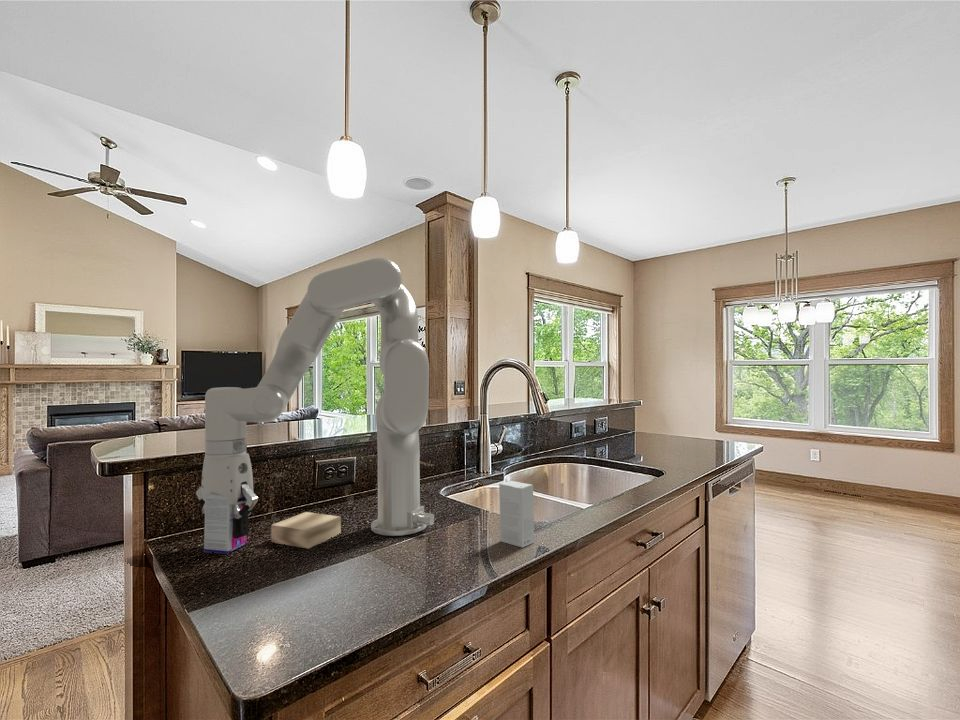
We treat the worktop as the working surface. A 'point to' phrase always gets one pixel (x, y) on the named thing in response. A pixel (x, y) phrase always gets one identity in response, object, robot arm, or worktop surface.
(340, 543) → the worktop surface
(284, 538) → the oak block
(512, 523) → the skincare box
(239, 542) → the supplement box
